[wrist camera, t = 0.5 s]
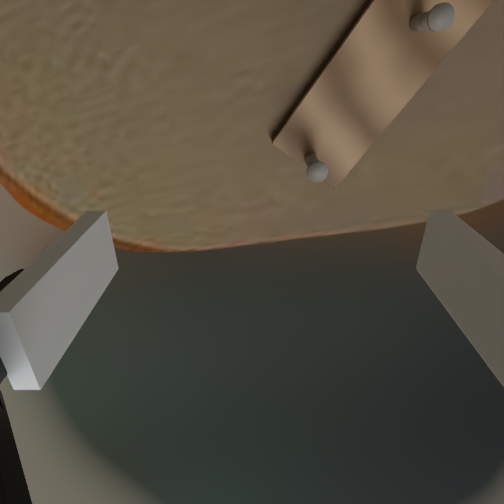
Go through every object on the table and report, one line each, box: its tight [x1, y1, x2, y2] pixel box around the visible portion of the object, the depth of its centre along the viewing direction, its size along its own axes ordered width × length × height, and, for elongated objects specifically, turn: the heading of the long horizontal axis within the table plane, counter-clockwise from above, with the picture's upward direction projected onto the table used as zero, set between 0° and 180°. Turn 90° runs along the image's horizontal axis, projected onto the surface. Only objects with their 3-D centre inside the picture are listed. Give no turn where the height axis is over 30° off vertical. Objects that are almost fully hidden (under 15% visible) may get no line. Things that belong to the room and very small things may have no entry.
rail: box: [272, 0, 493, 189], centre depth 29 cm, size 30×8×6 cm, turn 145°
